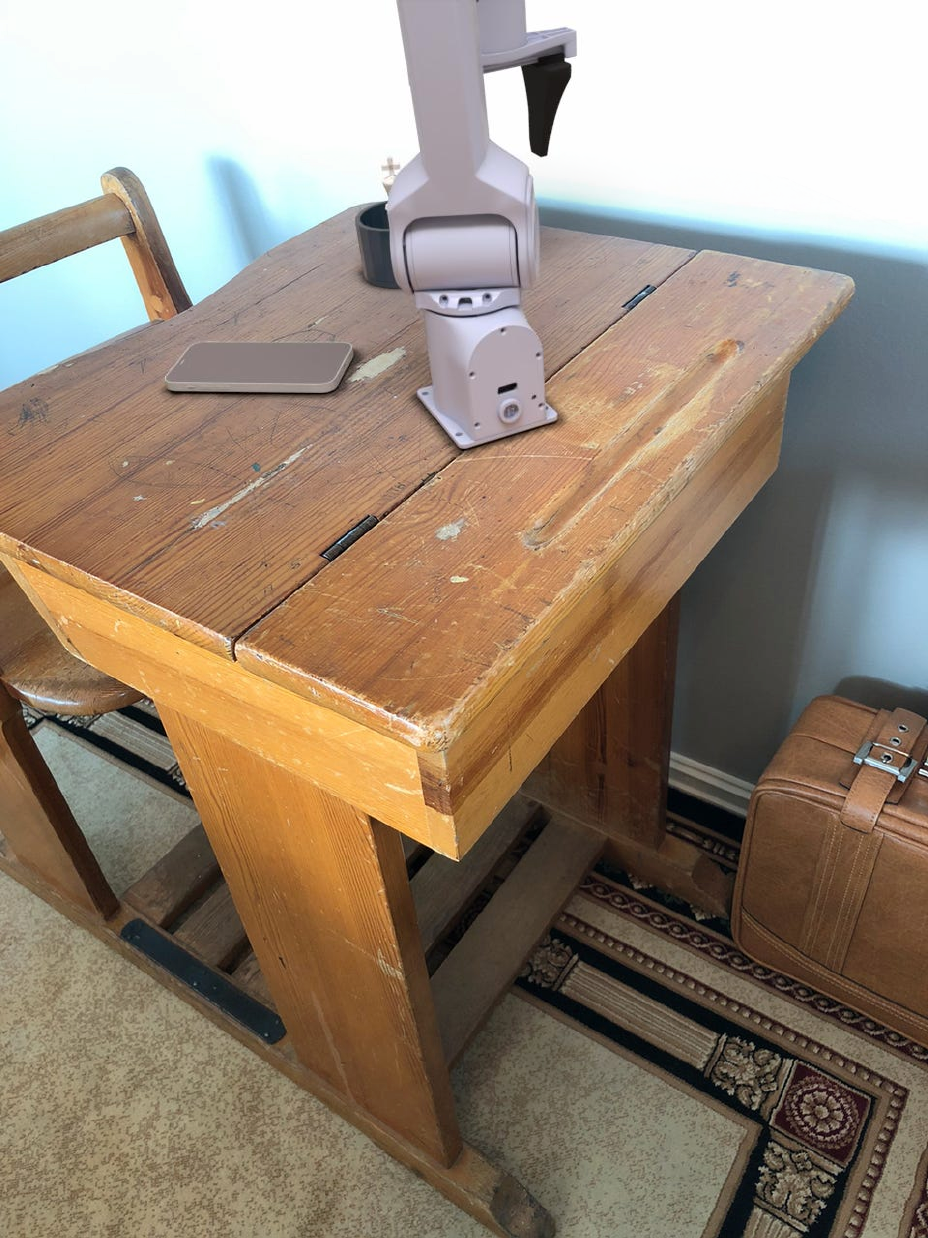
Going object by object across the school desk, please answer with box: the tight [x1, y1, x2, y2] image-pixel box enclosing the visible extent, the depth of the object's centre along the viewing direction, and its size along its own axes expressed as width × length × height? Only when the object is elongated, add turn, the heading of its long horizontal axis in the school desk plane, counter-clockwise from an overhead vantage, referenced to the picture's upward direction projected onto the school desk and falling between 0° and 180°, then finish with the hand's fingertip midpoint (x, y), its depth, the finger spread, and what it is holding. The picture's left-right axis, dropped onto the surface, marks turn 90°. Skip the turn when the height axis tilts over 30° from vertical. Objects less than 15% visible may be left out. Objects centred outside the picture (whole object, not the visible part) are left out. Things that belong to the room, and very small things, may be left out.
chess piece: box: [380, 155, 401, 210], centre depth 92 cm, size 5×5×10 cm
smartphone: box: [164, 341, 355, 394], centre depth 82 cm, size 7×1×15 cm
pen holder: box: [354, 200, 402, 289], centre depth 94 cm, size 8×8×6 cm
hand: (500, 163), depth 86 cm, fingers open, 7 cm apart
